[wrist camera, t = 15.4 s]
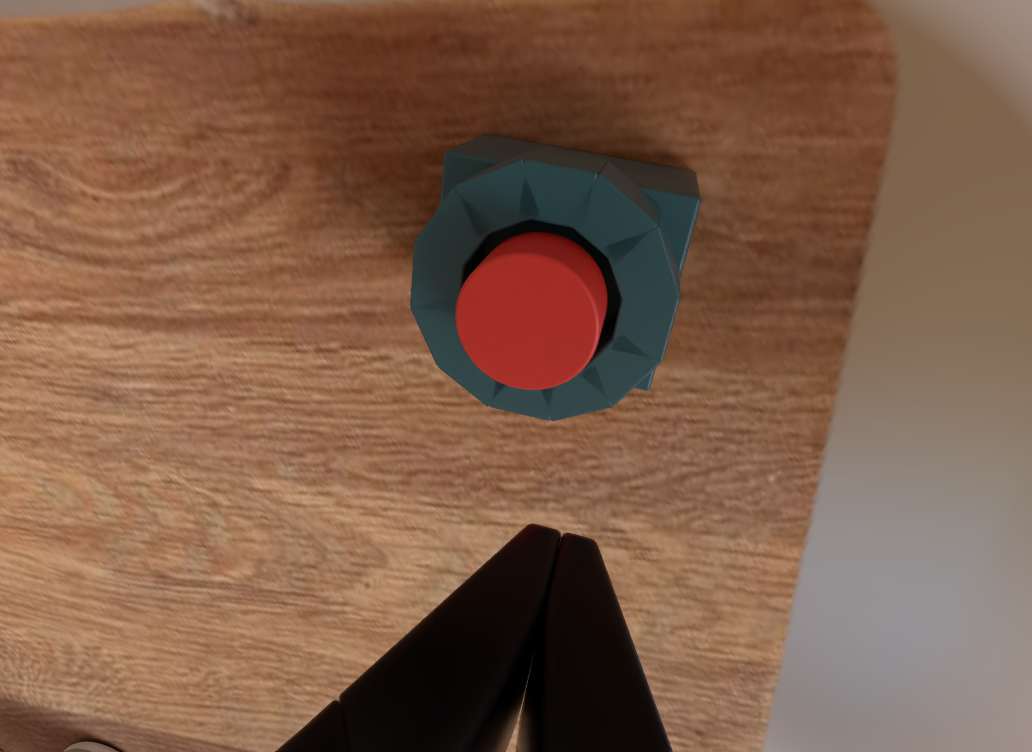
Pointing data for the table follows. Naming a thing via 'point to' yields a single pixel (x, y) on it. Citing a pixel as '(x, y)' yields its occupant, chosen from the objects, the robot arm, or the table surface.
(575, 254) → the button
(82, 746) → the pill bottle
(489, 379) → the block
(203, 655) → the table surface
